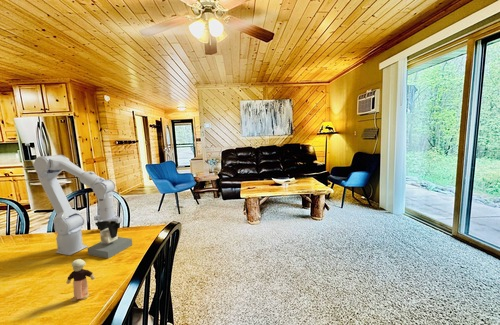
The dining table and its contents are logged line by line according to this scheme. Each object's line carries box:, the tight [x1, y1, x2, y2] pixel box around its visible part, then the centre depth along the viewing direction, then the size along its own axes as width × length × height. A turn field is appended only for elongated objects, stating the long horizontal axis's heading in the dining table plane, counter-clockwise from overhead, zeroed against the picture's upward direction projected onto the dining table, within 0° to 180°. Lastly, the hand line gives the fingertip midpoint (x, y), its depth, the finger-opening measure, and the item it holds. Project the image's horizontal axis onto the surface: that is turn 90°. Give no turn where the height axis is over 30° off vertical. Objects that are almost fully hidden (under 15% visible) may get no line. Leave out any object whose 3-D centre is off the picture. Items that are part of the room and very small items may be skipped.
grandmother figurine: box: [65, 258, 96, 302], centre depth 66 cm, size 8×4×13 cm, turn 114°
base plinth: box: [87, 236, 133, 259], centre depth 96 cm, size 12×12×3 cm
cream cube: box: [99, 228, 119, 243], centre depth 95 cm, size 4×4×5 cm
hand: (109, 236), depth 96 cm, fingers closed on cream cube, 4 cm apart
